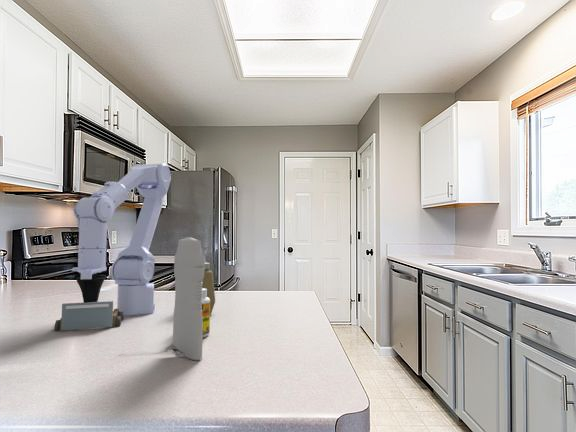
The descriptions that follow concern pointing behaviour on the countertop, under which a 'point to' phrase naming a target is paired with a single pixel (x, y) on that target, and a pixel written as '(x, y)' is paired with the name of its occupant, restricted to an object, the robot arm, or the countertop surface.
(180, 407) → the countertop surface
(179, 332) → the tall pale column
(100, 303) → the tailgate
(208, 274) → the squeeze bottle
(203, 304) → the supplement bottle
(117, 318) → the cart bed
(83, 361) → the countertop surface
